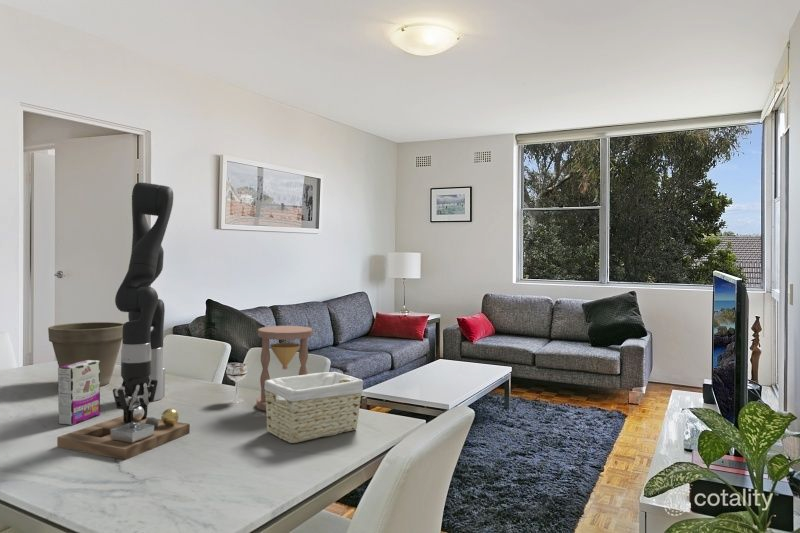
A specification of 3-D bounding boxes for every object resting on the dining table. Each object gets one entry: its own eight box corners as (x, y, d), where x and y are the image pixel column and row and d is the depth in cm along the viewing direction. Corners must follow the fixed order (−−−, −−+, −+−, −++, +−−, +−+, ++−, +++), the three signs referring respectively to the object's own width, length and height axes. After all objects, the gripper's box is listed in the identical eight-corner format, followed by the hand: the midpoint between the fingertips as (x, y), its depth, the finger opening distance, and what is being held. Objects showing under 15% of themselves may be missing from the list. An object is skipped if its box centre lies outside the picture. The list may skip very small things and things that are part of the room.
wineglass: (250, 399, 192) (250, 363, 192) (242, 404, 186) (243, 367, 185) (230, 398, 193) (231, 362, 193) (222, 403, 186) (223, 366, 186)
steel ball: (135, 418, 160) (135, 402, 159) (147, 420, 158) (148, 404, 158) (122, 422, 155) (123, 406, 155) (135, 424, 154) (135, 408, 154)
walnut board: (127, 423, 163) (127, 414, 163) (189, 433, 155) (189, 423, 155) (57, 446, 142) (57, 436, 142) (125, 459, 135) (125, 449, 135)
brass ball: (169, 421, 157) (169, 406, 157) (182, 423, 155) (182, 407, 155) (157, 426, 153) (157, 410, 152) (170, 428, 151) (170, 411, 151)
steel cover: (132, 430, 147) (132, 417, 147) (154, 434, 145) (154, 421, 145) (110, 438, 141) (110, 425, 141) (132, 442, 138) (132, 428, 138)
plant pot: (52, 379, 215) (53, 322, 214) (125, 374, 225) (125, 320, 224) (42, 394, 192) (43, 330, 191) (124, 389, 202) (124, 328, 202)
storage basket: (332, 417, 173) (333, 369, 173) (364, 430, 161) (366, 379, 161) (260, 432, 158) (261, 379, 157) (290, 448, 145) (291, 390, 145)
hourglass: (305, 397, 197) (306, 324, 196) (316, 410, 180) (318, 331, 180) (253, 400, 190) (254, 326, 190) (259, 414, 174) (261, 333, 174)
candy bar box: (86, 413, 171) (86, 359, 171) (100, 415, 170) (101, 360, 170) (56, 424, 160) (57, 366, 160) (72, 425, 159) (72, 367, 159)
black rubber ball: (151, 427, 152) (151, 415, 152) (160, 428, 151) (161, 416, 151) (142, 430, 149) (142, 418, 149) (151, 432, 148) (151, 419, 148)
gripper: (126, 364, 148) (125, 430, 149) (166, 356, 162) (165, 416, 162) (104, 362, 151) (103, 426, 151) (145, 354, 164) (144, 412, 165)
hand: (135, 420), depth 157 cm, fingers closed on steel ball, 4 cm apart
